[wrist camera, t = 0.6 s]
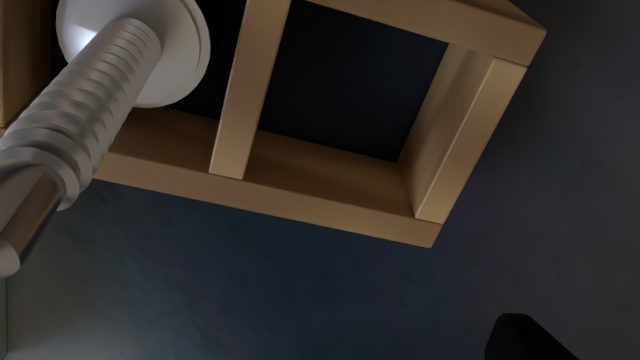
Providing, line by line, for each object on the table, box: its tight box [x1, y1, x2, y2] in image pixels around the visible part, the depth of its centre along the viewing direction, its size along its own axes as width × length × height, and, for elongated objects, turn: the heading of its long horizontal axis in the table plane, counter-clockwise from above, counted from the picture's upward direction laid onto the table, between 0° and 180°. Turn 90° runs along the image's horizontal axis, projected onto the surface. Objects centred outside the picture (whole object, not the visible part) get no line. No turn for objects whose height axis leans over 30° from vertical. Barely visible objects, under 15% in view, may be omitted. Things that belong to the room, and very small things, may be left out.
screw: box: [0, 0, 212, 279], centre depth 13 cm, size 13×5×5 cm
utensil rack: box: [0, 0, 547, 248], centre depth 18 cm, size 9×16×4 cm, turn 73°
